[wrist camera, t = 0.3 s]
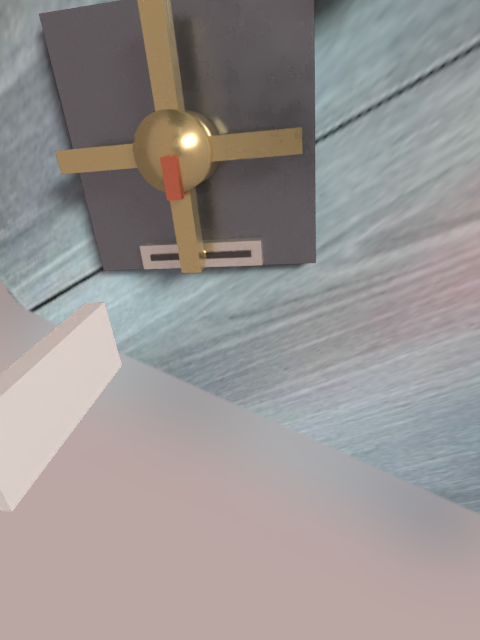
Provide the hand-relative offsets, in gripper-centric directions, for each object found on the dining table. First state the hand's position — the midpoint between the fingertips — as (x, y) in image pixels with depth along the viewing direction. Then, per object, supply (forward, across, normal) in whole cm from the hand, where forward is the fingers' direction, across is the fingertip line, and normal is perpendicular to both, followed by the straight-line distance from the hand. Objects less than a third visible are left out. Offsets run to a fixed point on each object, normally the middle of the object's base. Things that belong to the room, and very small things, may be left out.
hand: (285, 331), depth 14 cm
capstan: (+25, -10, +5) cm, 27 cm away
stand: (+27, -10, +5) cm, 29 cm away
